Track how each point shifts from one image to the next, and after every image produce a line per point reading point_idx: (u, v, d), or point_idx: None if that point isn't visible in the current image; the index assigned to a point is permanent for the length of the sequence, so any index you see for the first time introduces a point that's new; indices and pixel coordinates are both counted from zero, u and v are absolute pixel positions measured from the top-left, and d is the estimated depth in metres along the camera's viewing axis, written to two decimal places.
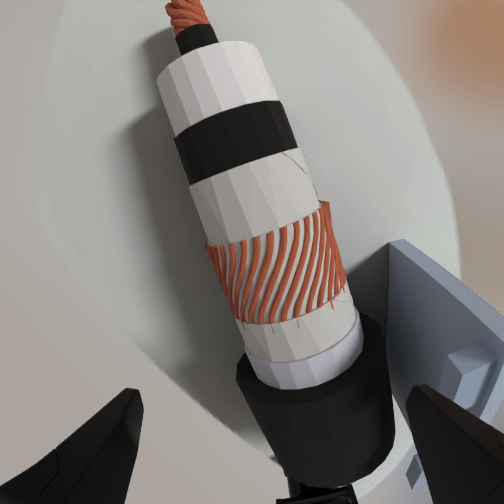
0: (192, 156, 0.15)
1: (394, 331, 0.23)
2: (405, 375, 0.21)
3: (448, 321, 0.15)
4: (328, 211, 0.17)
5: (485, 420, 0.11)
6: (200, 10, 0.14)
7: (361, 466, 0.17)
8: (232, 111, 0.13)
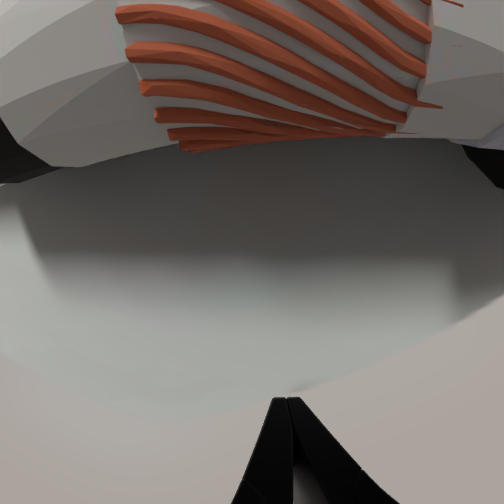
0: None
1: None
2: None
3: None
4: None
5: None
6: None
7: None
8: None
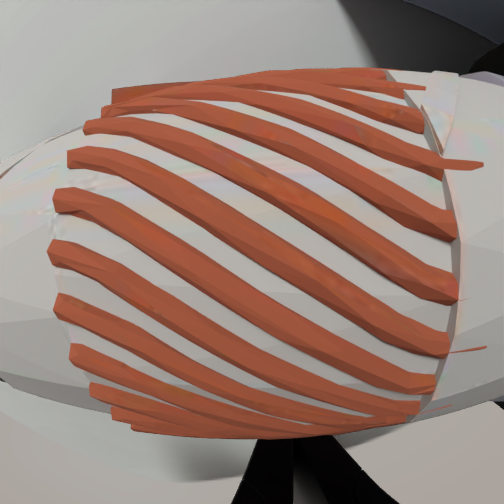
0: None
1: None
2: None
3: None
4: (145, 90, 0.05)
5: None
6: None
7: None
8: None
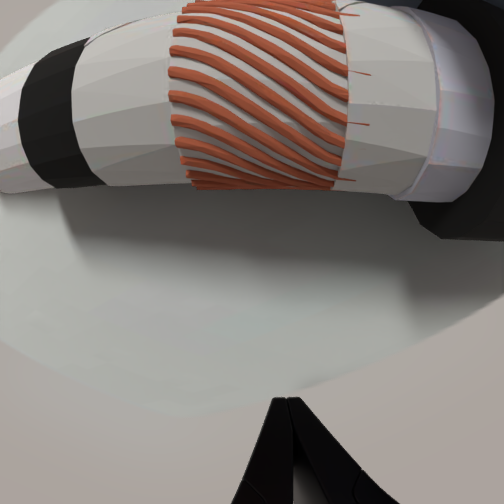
0: (62, 168, 0.09)
1: None
2: None
3: None
4: None
5: None
6: None
7: None
8: (22, 105, 0.08)
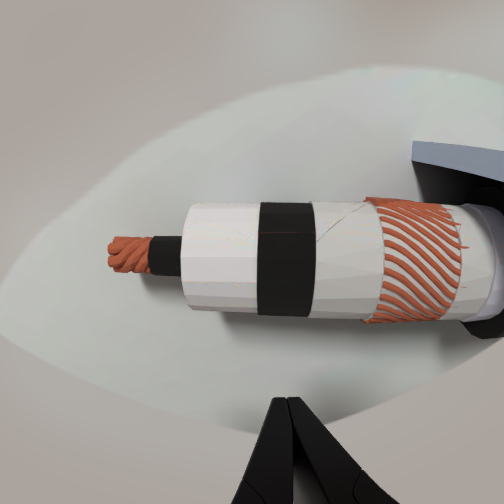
0: (284, 313, 0.16)
1: None
2: None
3: None
4: (383, 201, 0.15)
5: None
6: (131, 244, 0.17)
7: None
8: (260, 274, 0.15)
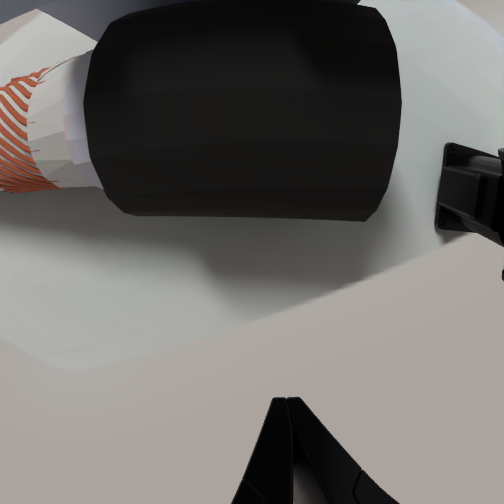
0: None
1: None
2: None
3: None
4: (20, 78, 0.12)
5: None
6: None
7: (344, 53, 0.08)
8: None
